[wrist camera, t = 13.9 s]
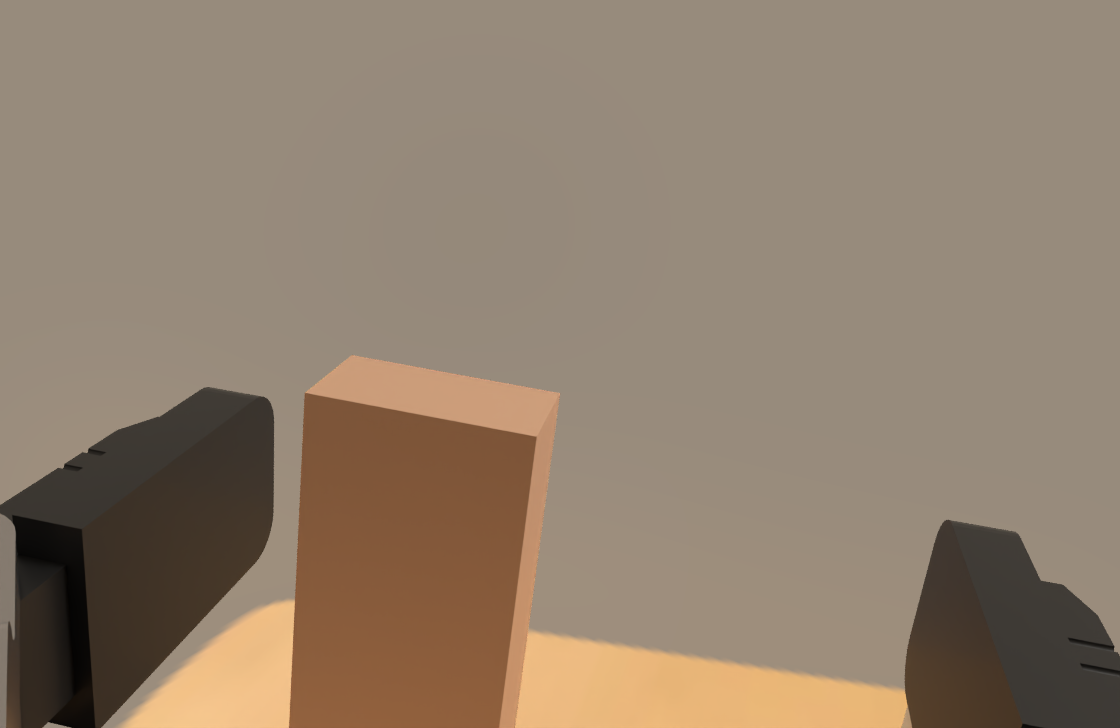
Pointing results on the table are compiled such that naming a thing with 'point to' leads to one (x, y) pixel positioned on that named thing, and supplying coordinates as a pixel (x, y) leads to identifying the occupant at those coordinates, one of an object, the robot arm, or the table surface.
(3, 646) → the robot arm
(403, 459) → the stub
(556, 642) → the table surface
